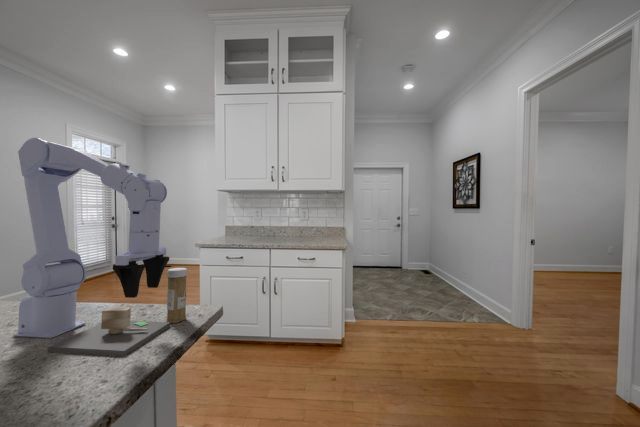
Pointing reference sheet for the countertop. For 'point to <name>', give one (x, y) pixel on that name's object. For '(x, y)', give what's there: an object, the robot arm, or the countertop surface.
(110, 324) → the peg
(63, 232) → the robot arm
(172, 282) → the sprinkles bottle
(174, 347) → the countertop surface
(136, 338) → the dial board
